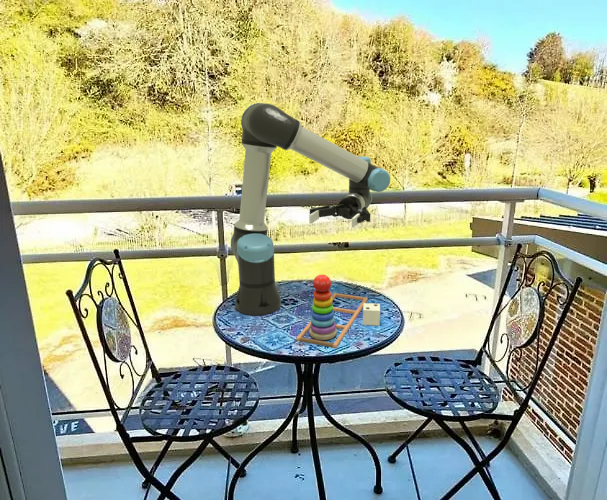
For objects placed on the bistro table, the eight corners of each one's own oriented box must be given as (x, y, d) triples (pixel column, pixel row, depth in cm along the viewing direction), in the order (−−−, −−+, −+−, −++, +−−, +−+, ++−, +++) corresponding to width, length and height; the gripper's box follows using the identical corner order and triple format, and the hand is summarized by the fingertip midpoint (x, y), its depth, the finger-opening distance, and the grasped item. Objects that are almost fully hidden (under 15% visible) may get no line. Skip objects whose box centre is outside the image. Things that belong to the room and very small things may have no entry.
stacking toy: (308, 328, 138) (307, 270, 132) (334, 327, 138) (335, 269, 132) (310, 341, 130) (309, 280, 124) (338, 340, 130) (338, 279, 125)
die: (362, 325, 139) (363, 309, 138) (363, 317, 144) (363, 302, 142) (379, 325, 139) (380, 310, 137) (379, 318, 143) (379, 303, 142)
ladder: (296, 340, 131) (296, 337, 131) (334, 295, 161) (334, 292, 160) (336, 348, 127) (336, 345, 126) (367, 299, 156) (367, 297, 156)
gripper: (386, 219, 155) (371, 236, 136) (317, 214, 164) (293, 229, 145) (387, 197, 152) (371, 212, 134) (317, 193, 161) (293, 206, 143)
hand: (331, 221), depth 139 cm, fingers open, 13 cm apart
